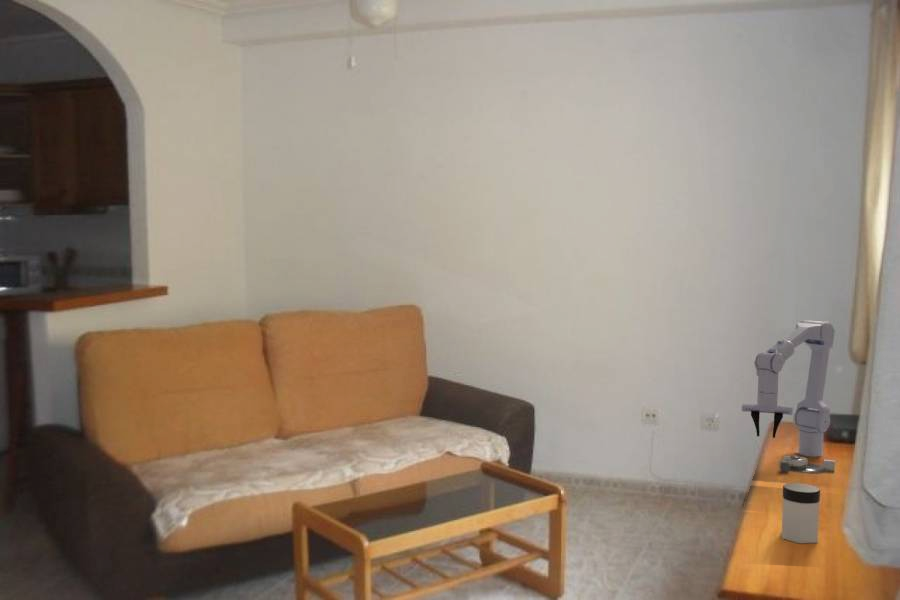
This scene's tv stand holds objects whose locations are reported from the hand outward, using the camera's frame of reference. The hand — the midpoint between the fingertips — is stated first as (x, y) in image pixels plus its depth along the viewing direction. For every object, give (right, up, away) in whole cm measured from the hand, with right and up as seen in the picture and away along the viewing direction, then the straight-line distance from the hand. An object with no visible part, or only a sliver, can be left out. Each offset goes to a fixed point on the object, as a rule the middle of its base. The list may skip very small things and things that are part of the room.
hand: (765, 436), depth 277 cm
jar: (-14, -15, -63) cm, 66 cm away
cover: (+8, -9, -2) cm, 12 cm away
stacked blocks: (+2, -11, -9) cm, 14 cm away
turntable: (+11, -10, -3) cm, 15 cm away
